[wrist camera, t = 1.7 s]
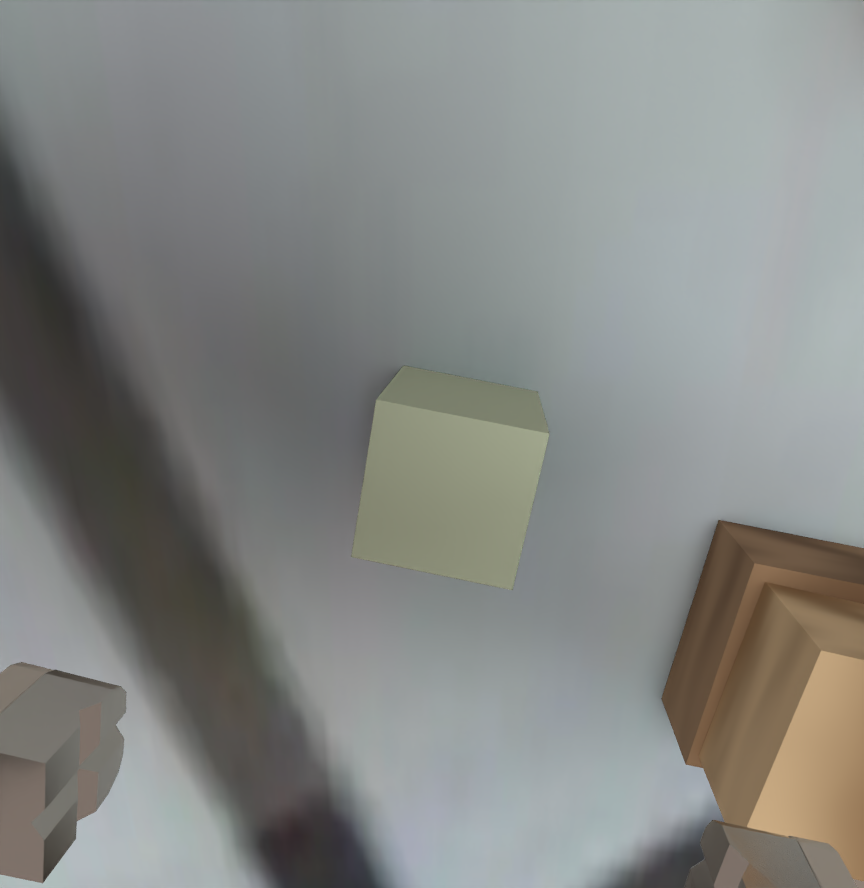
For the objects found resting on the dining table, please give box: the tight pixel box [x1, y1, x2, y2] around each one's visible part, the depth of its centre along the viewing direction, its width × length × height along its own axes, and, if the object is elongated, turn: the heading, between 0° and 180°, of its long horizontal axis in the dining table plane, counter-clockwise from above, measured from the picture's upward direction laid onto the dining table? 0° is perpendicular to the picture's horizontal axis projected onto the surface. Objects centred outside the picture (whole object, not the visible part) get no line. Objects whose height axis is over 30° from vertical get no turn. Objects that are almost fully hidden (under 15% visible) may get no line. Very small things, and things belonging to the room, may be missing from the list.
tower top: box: [699, 582, 864, 881], centre depth 21 cm, size 7×7×4 cm
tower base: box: [662, 520, 864, 768], centre depth 25 cm, size 8×8×4 cm
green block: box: [351, 366, 549, 590], centre depth 23 cm, size 5×5×6 cm
